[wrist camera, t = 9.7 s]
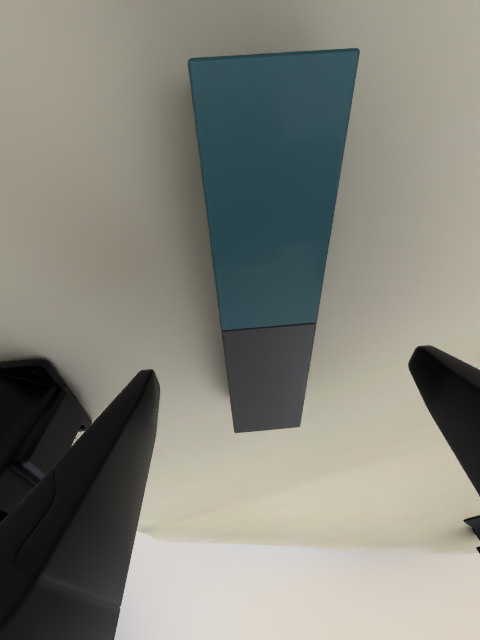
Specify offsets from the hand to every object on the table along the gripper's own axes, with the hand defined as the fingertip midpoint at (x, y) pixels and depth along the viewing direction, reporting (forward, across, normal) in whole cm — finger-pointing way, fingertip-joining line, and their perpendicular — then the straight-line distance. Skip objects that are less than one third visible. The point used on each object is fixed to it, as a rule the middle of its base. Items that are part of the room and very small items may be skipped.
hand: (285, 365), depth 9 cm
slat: (+5, 0, 0) cm, 5 cm away
